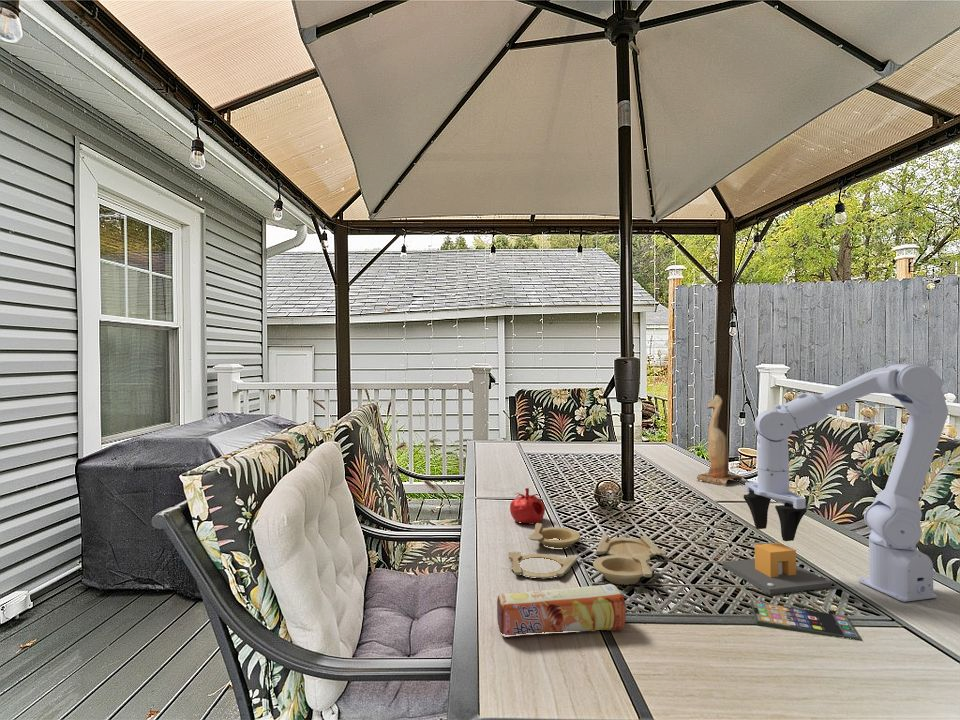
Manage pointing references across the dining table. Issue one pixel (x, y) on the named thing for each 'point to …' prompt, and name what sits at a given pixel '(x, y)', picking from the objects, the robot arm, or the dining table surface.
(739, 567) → the plate
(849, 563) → the dining table surface
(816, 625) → the smartphone
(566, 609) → the snack package
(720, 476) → the bird sculpture
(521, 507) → the pomegranate
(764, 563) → the orange block
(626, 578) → the tableware set
